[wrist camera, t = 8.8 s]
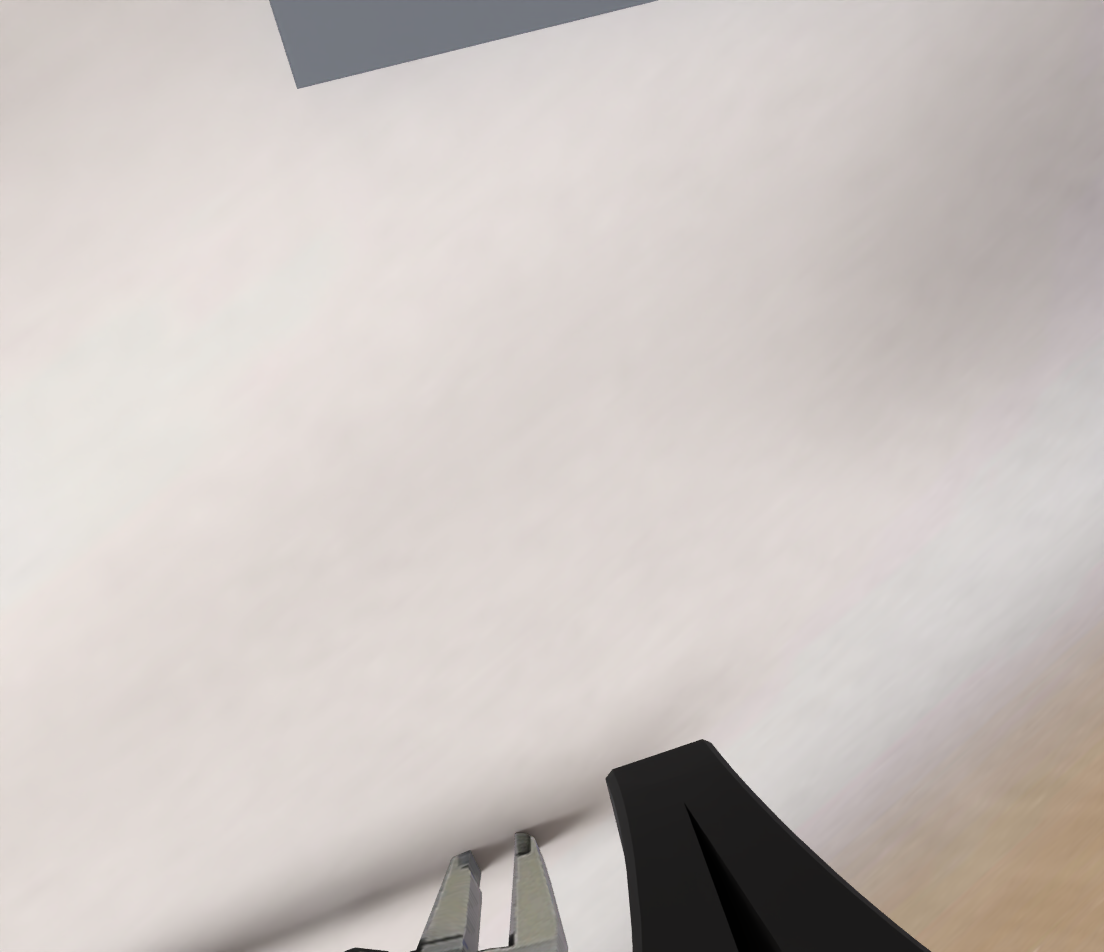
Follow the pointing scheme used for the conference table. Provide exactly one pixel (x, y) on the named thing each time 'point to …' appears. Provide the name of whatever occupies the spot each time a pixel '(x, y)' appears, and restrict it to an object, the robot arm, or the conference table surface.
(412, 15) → the dip bank
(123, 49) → the conference table surface
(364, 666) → the conference table surface
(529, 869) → the caliper
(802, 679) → the conference table surface
